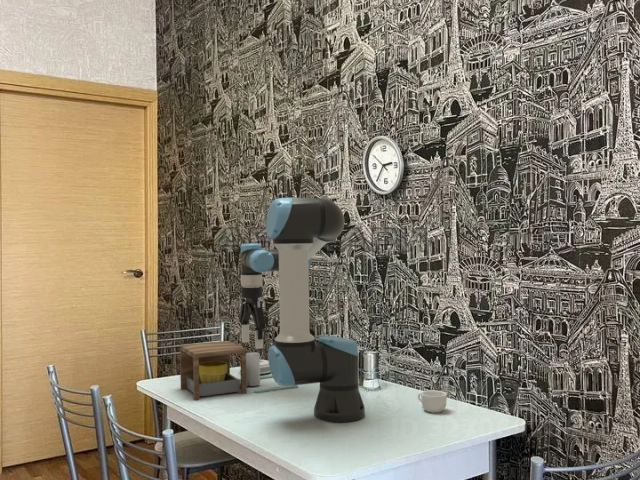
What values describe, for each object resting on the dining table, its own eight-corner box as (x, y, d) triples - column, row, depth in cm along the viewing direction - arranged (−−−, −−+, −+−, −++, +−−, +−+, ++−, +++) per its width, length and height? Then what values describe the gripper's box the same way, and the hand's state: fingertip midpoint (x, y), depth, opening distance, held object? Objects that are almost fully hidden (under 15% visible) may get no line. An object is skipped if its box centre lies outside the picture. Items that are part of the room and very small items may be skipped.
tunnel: (246, 393, 215) (245, 348, 215) (194, 400, 207) (194, 353, 207) (229, 382, 232) (228, 340, 231) (180, 388, 223) (179, 345, 223)
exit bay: (298, 387, 223) (298, 385, 223) (255, 393, 216) (255, 391, 216) (275, 376, 242) (275, 374, 242) (235, 381, 234) (235, 379, 234)
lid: (247, 369, 256) (247, 356, 256) (276, 370, 253) (276, 358, 253) (235, 376, 244) (234, 363, 244) (265, 377, 240) (265, 364, 240)
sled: (267, 387, 221) (266, 356, 221) (198, 396, 210) (197, 363, 210) (252, 379, 234) (251, 349, 234) (186, 387, 223) (186, 356, 223)
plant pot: (230, 387, 224) (230, 360, 224) (223, 395, 214) (223, 366, 214) (202, 387, 225) (202, 360, 225) (193, 394, 215) (193, 366, 215)
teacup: (452, 411, 191) (452, 393, 191) (436, 416, 186) (436, 398, 186) (426, 404, 198) (426, 387, 198) (410, 409, 193) (410, 391, 193)
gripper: (274, 288, 217) (275, 350, 217) (249, 283, 239) (249, 339, 239) (254, 289, 213) (255, 352, 214) (230, 284, 236) (230, 340, 236)
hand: (252, 345), depth 227 cm, fingers open, 13 cm apart
